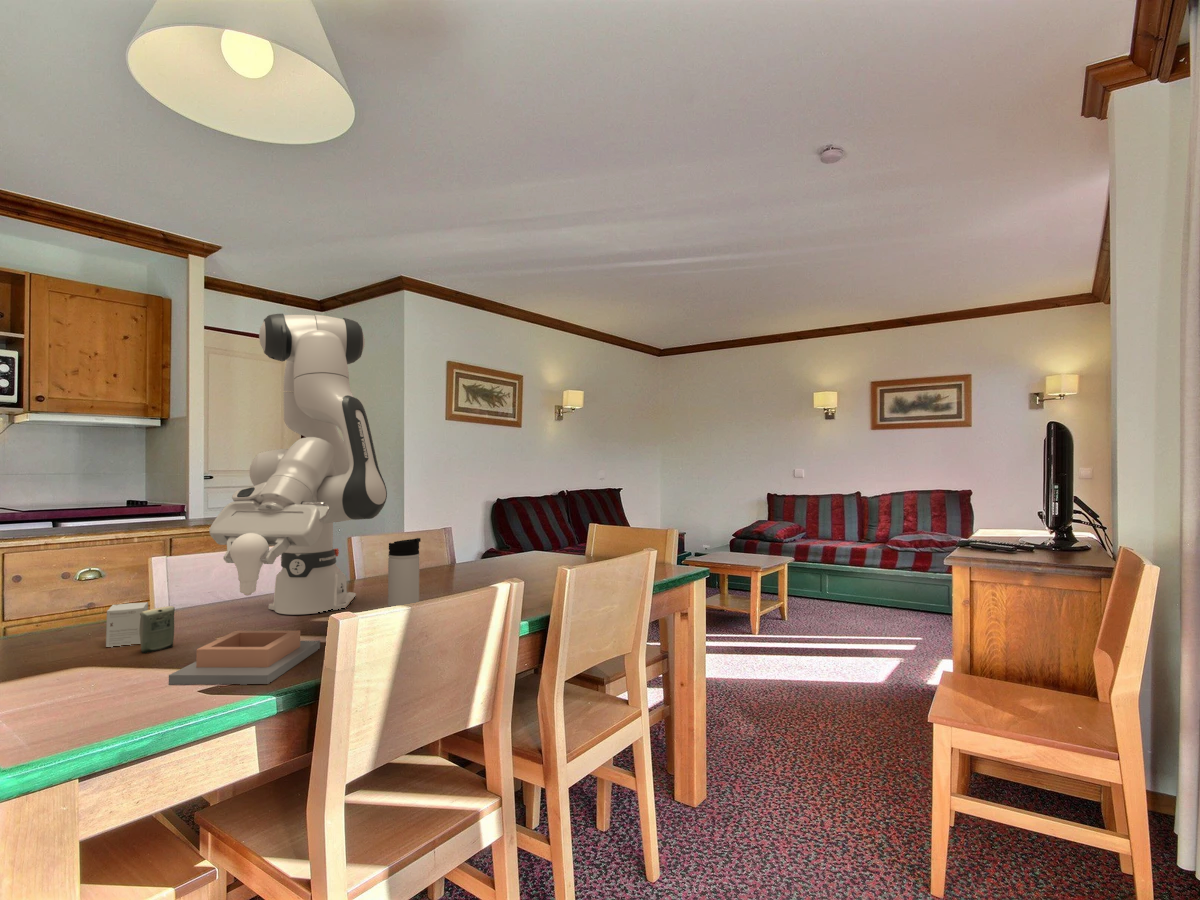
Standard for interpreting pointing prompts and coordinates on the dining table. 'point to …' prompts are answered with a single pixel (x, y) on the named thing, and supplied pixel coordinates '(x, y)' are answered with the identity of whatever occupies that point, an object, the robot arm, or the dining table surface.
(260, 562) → the lightbulb
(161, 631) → the labelled grey plug block
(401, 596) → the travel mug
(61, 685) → the dining table surface
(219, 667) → the board
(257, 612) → the dining table surface
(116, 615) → the product box
